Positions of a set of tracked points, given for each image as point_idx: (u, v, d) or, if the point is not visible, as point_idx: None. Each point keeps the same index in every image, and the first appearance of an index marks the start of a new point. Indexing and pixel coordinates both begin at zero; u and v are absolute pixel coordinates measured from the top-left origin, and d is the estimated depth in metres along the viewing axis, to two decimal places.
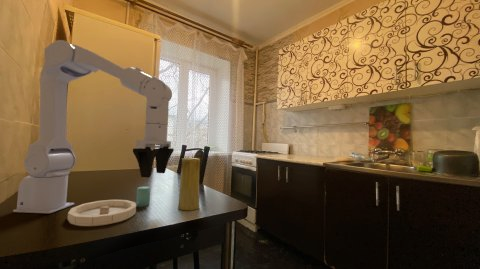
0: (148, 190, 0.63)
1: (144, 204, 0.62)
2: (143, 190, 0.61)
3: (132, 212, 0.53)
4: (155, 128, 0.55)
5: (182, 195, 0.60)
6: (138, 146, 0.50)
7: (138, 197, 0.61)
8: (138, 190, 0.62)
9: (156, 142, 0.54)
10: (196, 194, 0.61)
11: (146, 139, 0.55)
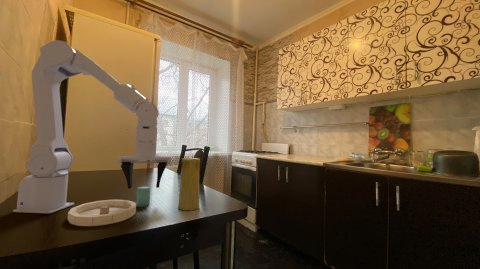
0: (148, 190, 0.63)
1: (144, 204, 0.62)
2: (143, 190, 0.61)
3: (132, 212, 0.53)
4: (136, 145, 0.62)
5: (182, 195, 0.60)
6: None
7: (138, 197, 0.61)
8: (138, 190, 0.62)
9: (132, 158, 0.61)
10: (196, 194, 0.61)
11: None
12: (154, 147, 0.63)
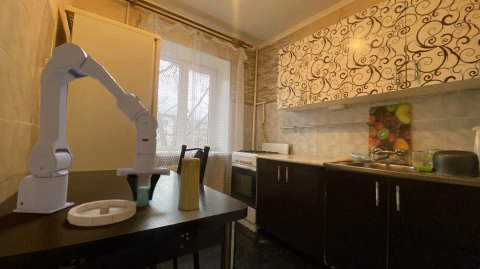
0: (148, 190, 0.63)
1: (144, 204, 0.62)
2: (143, 190, 0.61)
3: (132, 212, 0.53)
4: (135, 158, 0.62)
5: (182, 195, 0.60)
6: None
7: (138, 197, 0.61)
8: (138, 190, 0.62)
9: (131, 171, 0.61)
10: (196, 194, 0.61)
11: None
12: (153, 159, 0.63)
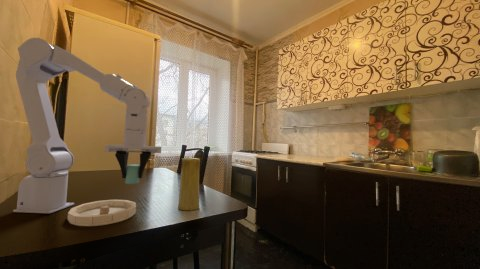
0: (138, 167, 0.61)
1: (133, 181, 0.59)
2: (132, 167, 0.59)
3: (132, 212, 0.53)
4: (124, 134, 0.60)
5: (182, 195, 0.60)
6: None
7: (127, 174, 0.59)
8: (127, 167, 0.60)
9: (120, 146, 0.58)
10: (196, 194, 0.61)
11: None
12: (143, 136, 0.61)
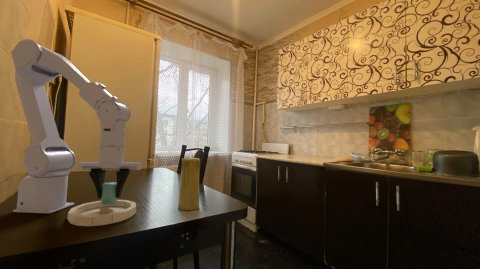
0: (115, 186, 0.56)
1: (110, 202, 0.55)
2: (108, 186, 0.55)
3: (132, 212, 0.53)
4: None
5: (182, 195, 0.60)
6: None
7: (103, 194, 0.55)
8: (103, 186, 0.55)
9: (94, 164, 0.54)
10: (196, 194, 0.61)
11: None
12: (121, 152, 0.56)
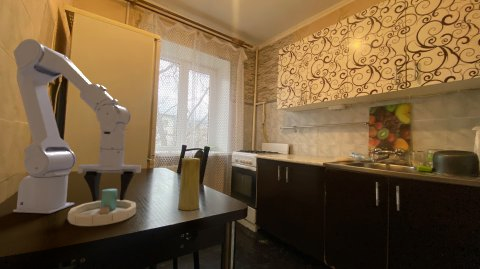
0: (114, 193, 0.56)
1: (109, 208, 0.55)
2: (108, 193, 0.55)
3: (132, 212, 0.53)
4: (99, 153, 0.55)
5: (182, 195, 0.60)
6: None
7: (102, 201, 0.55)
8: (102, 193, 0.55)
9: (94, 167, 0.54)
10: (196, 194, 0.61)
11: None
12: (121, 155, 0.56)
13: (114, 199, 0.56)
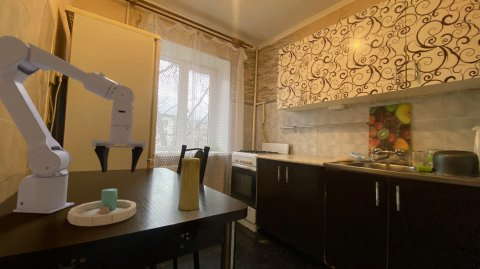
0: (114, 193, 0.56)
1: (109, 208, 0.55)
2: (108, 193, 0.55)
3: (132, 212, 0.53)
4: (110, 129, 0.62)
5: (182, 195, 0.60)
6: None
7: (102, 201, 0.55)
8: (102, 193, 0.55)
9: (106, 142, 0.61)
10: (196, 194, 0.61)
11: None
12: (129, 131, 0.63)
13: (114, 199, 0.56)
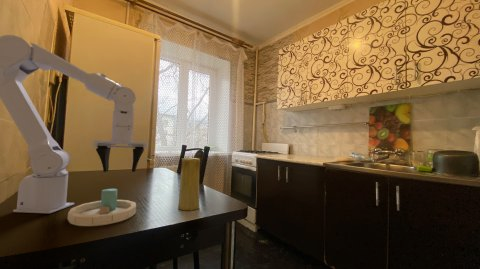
0: (114, 193, 0.56)
1: (109, 208, 0.55)
2: (108, 193, 0.55)
3: (132, 212, 0.53)
4: (112, 130, 0.63)
5: (182, 195, 0.60)
6: None
7: (102, 201, 0.55)
8: (102, 193, 0.55)
9: (107, 142, 0.62)
10: (196, 194, 0.61)
11: None
12: (130, 132, 0.64)
13: (114, 199, 0.56)
